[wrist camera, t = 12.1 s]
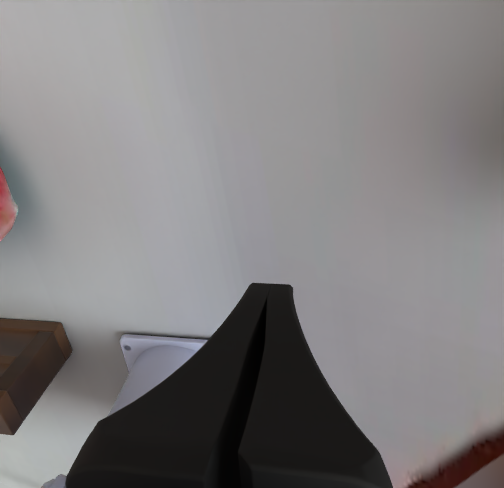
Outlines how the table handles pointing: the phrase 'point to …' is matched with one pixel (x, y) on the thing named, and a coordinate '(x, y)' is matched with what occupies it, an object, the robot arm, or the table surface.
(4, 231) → the athletic shoe
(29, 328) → the rack
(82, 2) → the table surface
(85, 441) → the robot arm
